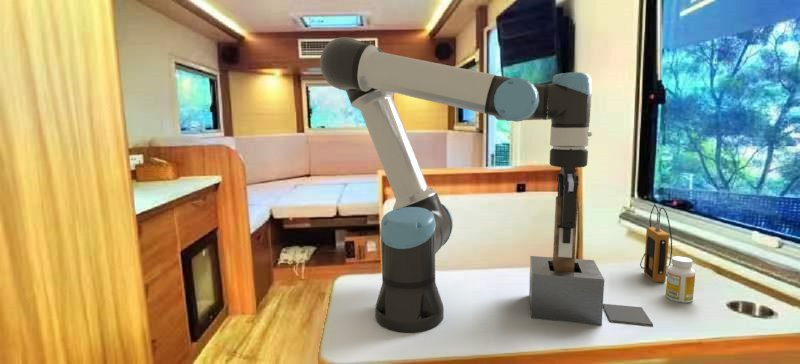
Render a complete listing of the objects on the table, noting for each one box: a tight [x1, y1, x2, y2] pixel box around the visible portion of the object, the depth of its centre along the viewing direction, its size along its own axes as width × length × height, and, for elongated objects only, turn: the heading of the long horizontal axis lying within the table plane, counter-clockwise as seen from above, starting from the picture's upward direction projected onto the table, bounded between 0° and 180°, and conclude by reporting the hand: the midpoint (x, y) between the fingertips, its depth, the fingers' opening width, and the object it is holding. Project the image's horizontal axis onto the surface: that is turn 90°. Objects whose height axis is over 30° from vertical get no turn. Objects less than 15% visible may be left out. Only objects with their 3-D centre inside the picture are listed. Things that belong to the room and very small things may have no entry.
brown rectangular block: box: [552, 195, 579, 272], centre depth 90 cm, size 4×4×16 cm
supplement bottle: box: [665, 255, 696, 304], centre depth 96 cm, size 5×5×10 cm
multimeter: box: [639, 203, 673, 283], centre depth 107 cm, size 15×10×20 cm
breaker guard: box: [528, 255, 605, 326], centre depth 92 cm, size 14×12×10 cm
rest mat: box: [603, 303, 654, 327], centre depth 89 cm, size 8×8×1 cm
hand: (563, 253), depth 91 cm, fingers closed on brown rectangular block, 4 cm apart
